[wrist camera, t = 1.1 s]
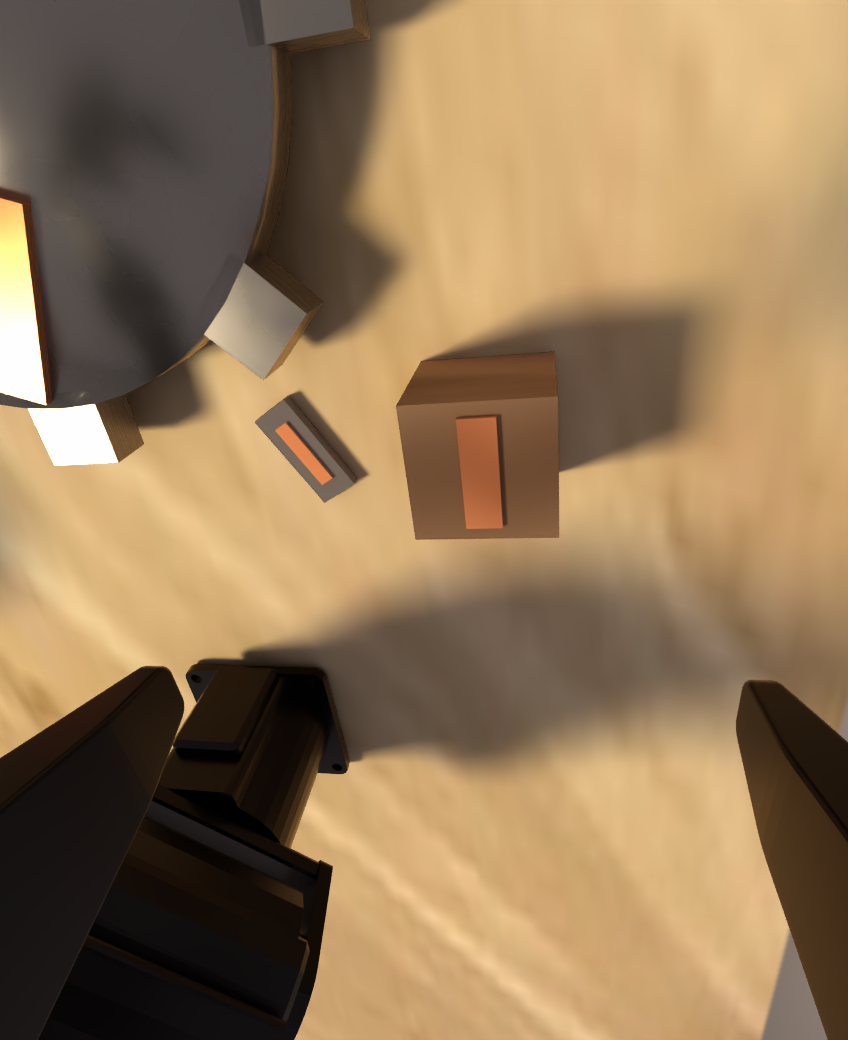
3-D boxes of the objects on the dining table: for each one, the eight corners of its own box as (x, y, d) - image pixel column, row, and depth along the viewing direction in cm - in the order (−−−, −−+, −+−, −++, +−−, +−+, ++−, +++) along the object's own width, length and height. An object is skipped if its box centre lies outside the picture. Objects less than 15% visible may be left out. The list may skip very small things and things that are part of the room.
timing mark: (357, 478, 21) (353, 485, 21) (328, 497, 22) (323, 504, 21) (288, 395, 20) (282, 401, 19) (259, 417, 20) (253, 423, 20)
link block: (555, 472, 20) (559, 539, 16) (435, 476, 21) (414, 541, 17) (554, 350, 18) (558, 398, 14) (421, 360, 19) (395, 407, 15)
